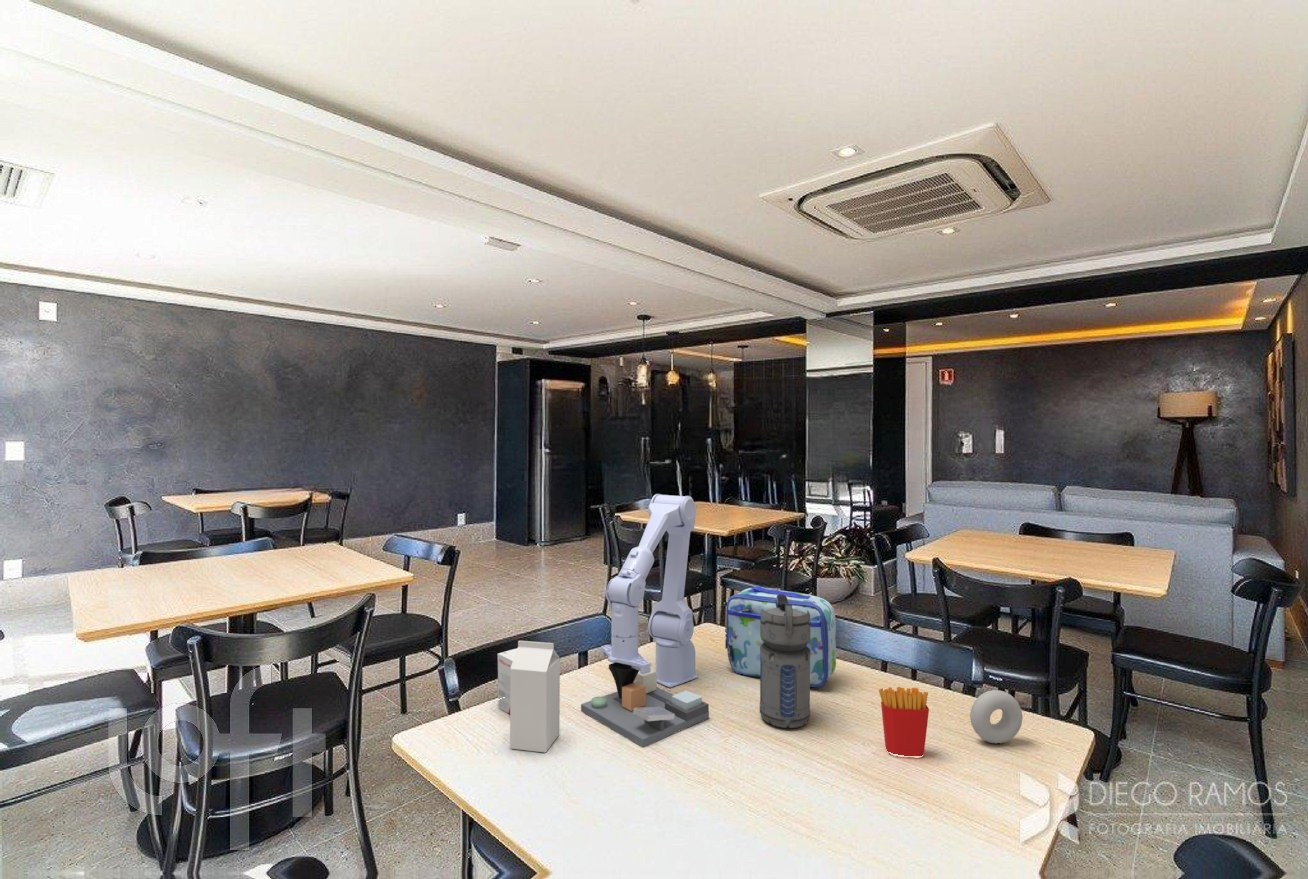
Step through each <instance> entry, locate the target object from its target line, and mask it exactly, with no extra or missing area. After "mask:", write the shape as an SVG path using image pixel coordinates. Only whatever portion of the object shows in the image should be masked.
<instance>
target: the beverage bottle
mask: <svg viewBox="0 0 1308 879" xmlns="http://www.w3.org/2000/svg"><path fill="white" fill-rule="evenodd" d="M810 634H811V624H810V613H809V611H807V613H804V612H801V611H799V610H796V609H792V604H789V603H788V599H787V597H786V596H785V595H784V594H779V595H777V598H776V608H772V609H769V610H766V611H764V609H762V611H761V619H760V636H761V638H762V640H763V641H764V643H763V644H761V646H760V677H759V678H760V679H759V680H760V681H759V682H760V683H759V685H760V686H759V689H760V690H759V694H760V698H759V713H760V715H761V718H762V719H763V721H764V722H766V723H767V724H769V725H772V726H774V727H778V728H783V729H797V728H801V727H803V726H805V725H806V724H808V721H809V719H810V717H811V698H810V697H811V687H810V649H809V648H808V647H807V646H806V645H807V644H808V642H809V641H810ZM787 727H789V728H787Z"/></svg>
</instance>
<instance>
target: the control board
mask: <svg viewBox="0 0 1308 879" xmlns="http://www.w3.org/2000/svg"><path fill="white" fill-rule="evenodd" d="M673 695H674V694H673V693H671V692H668V691H667V690H664V689H662V688H661V687H658V686H657V690H654V691H651V692H649V693H646V705H645V706H642V707H659V706H660V707H662V708H664V709H666V710H668V711H670V712H672V713H674V714H675V716H674V719H671V720H657V721H646V720H645V719H643V718H641V717H639V716H637V715H635V714H633V710H632V711H630V710H628V709H627V708H625V707H623V706H622V699H620V698H619V695H618V691H617V690H616V691H614V692H612V693H609V694H605V695H604V696H600V695H598V696H594V697H593V698H591V699H590V700H589V701H586V702H584V703H581V704H580V712H582V713H584V714H585V715H586V716H589V717H590V718H592V719H594V720H595V721H597V722H598V723H600V724H602V725H604V726H605V727H607V728H609V729H611V730H612V731H614V732H616V733H617V734H619V735H620V736H623V737H624V738H626V739H627V740H629V741H631V742H633V743H634V744H635V745H636V744H637V745H638V746H639V747H641V748H646V747H647V746H650V745H652V744H654V743H657V742H659V741H660V740H663V739H665V737H666V738H667V736H668V737H670V736H672V735H674V733H675V732H677V733H679V732H680V731H679V730H681V731H683V730H682V729H684V730H685V728H686V727H688V728H690V727H692V725H693V726H694V724H695V725H696V723H697V724H699V723H701V722H700V721H702V722H704V721H706V720H708V719H709V718H710V711H709V710H710V709H709V706H710V705H709V703H707V702H705V701H704V700H702V705H700V706H698V707H695V708H693V709H690V710H688V711H685V710H683V709H681V708H679V707H677V706H675V705H673V704H672V696H673ZM640 708H641V707H640ZM707 718H708V719H707ZM703 720H704V721H703ZM698 722H699V723H698ZM689 726H690V727H689ZM686 729H687V728H686ZM678 731H679V732H678ZM671 734H672V735H671ZM675 734H676V733H675ZM669 735H670V736H669Z"/></svg>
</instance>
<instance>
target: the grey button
mask: <svg viewBox="0 0 1308 879" xmlns="http://www.w3.org/2000/svg"><path fill="white" fill-rule="evenodd" d="M702 701H703V696H701V695H698V694H696V693H694V692H691V691H689V690H688V689H687V690H684V691H681V692H679V693H676V694H673V696H672V704H673V705H675V706H677V707H679V708H681V709H683V710H685V711H688V710H690V709H693V708H695V707H698V706H700V705H702Z"/></svg>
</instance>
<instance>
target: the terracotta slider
mask: <svg viewBox="0 0 1308 879" xmlns="http://www.w3.org/2000/svg"><path fill="white" fill-rule="evenodd" d="M645 705H646V686H644V685H642V684H640V683H638V682H635V683H632V684H629V685H626V686H623V687H622V706H623V707H625V708H627V709H628V710H630V711H632V710H634V708H640V707H642V706H645Z"/></svg>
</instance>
